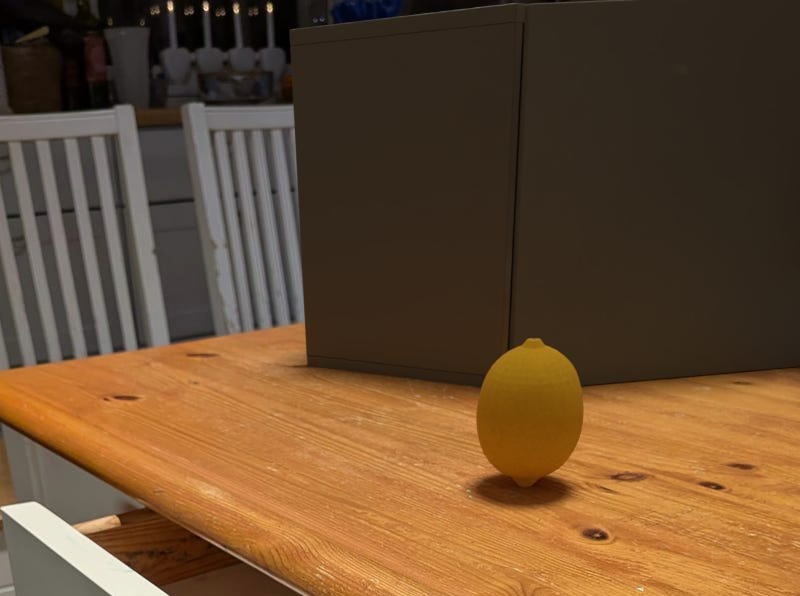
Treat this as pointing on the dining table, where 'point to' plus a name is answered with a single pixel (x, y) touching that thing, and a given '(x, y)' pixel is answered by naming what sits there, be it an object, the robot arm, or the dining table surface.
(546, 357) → the lemon
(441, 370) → the cupboard
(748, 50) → the cupboard door
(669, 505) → the dining table surface
